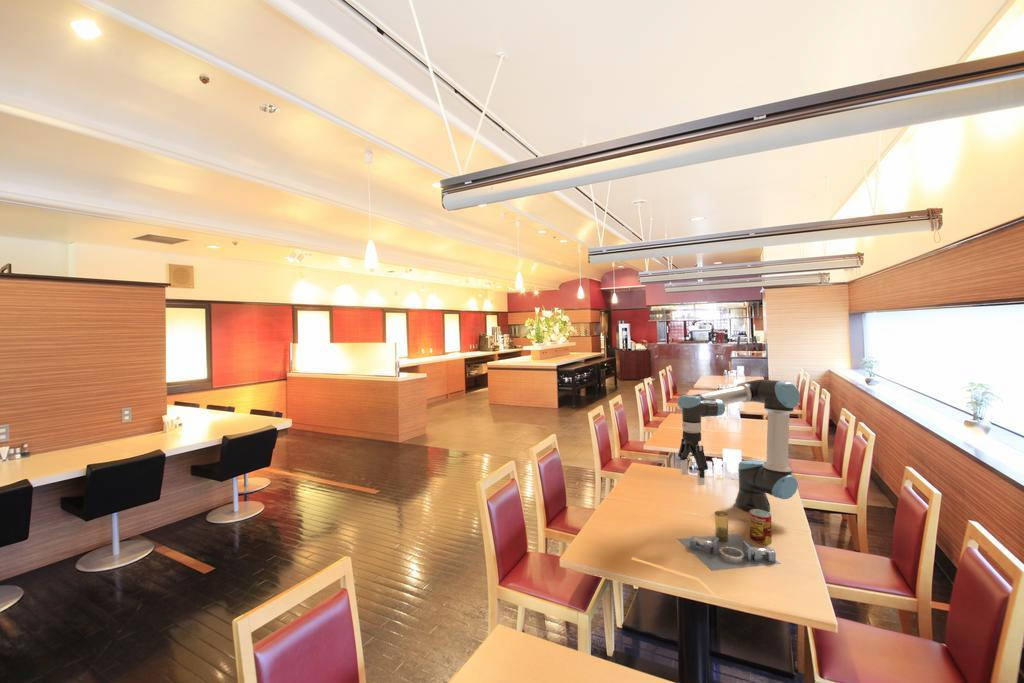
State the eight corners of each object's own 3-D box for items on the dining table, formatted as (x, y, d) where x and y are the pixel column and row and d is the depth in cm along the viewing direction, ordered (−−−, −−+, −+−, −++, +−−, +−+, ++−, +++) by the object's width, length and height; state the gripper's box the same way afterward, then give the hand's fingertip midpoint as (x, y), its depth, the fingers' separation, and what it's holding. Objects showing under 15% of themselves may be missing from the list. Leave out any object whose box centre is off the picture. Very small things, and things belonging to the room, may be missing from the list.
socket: (734, 550, 165) (734, 545, 165) (749, 562, 156) (749, 556, 156) (715, 552, 164) (715, 547, 164) (729, 564, 155) (728, 558, 155)
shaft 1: (719, 551, 165) (719, 537, 165) (716, 556, 161) (716, 542, 161) (692, 543, 171) (692, 530, 171) (689, 548, 167) (689, 535, 167)
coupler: (723, 536, 177) (722, 510, 177) (730, 541, 172) (730, 515, 172) (712, 537, 176) (712, 511, 176) (720, 542, 171) (719, 516, 171)
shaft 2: (748, 561, 157) (748, 547, 157) (742, 554, 162) (742, 541, 162) (776, 562, 156) (776, 548, 156) (770, 556, 160) (770, 542, 160)
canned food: (745, 539, 176) (745, 511, 176) (758, 535, 179) (757, 507, 179) (763, 547, 168) (762, 518, 168) (776, 543, 172) (775, 514, 171)
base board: (738, 535, 179) (737, 533, 179) (781, 565, 155) (781, 563, 155) (677, 541, 175) (677, 539, 175) (711, 572, 151) (711, 570, 151)
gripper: (670, 425, 194) (670, 470, 194) (699, 438, 169) (700, 489, 169) (685, 425, 195) (685, 470, 195) (716, 437, 170) (717, 489, 170)
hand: (692, 479), depth 182 cm, fingers open, 13 cm apart
